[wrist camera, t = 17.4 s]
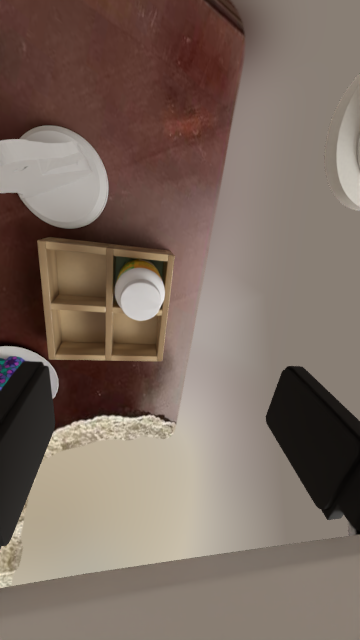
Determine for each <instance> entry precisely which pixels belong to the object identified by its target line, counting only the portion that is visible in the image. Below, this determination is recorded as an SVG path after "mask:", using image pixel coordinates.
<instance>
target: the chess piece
mask: <svg viewBox="0 0 360 640" xmlns="http://www.w3.org/2000/svg"><path fill="white" fill-rule="evenodd" d="M0 193H18V195H19V196H20V198H21V200H22V201H23V203H24V204H25V205H26V206H27V207H28V209H29V210H30V211H31V212H33V213H34V214H35V215H36V216H37V217H39V218H40V219H41V220H43V221H45V222H47V223H48V224H51V225H53V226H56V227H60V228H67V229H73V228H80V227H83V226H86V225H88V224H90V223H91V222H93V221H94V220H95V219H96V218H97V217H98V216H99V215H100V214H101V213H102V211H103V209H104V207H105V205H106V202H107V198H108V178H107V174H106V170H105V167H104V165H103V163H102V161H101V159H100V157H99V155H98V154H97V152H96V151H95V150H94V148H93V147H92V146H91V145H90V144H89V143H88V142H87V141H86V140H85V139H84V138H82V137H81V136H80V135H78V134H77V133H75V132H73V131H71V130H69V129H66V128H63V127H59V126H49V125H47V126H39V127H36V128H33V129H31V130H29V131H28V132H26V133H25V134H24V135H23V136H22V137H21V138H20V139H9V140H2V141H0Z"/></svg>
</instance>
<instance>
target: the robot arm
mask: <svg viewBox="0 0 360 640" xmlns="http://www.w3.org/2000/svg"><path fill="white" fill-rule="evenodd" d="M357 159H358V164H359V169H360V134H359V138H358V146H357ZM266 422H267V425H268V426H269V428H270V430H271V431H272V433H273V435H274V436H275V438H276V440H277V441H278V443H279V445H280V447H281V448H282V450H283V452H284V453H285V455H286V456H287V458H288V460H289V462H290V463H291V465H292V466H293V468H294V470H295V471H296V473H297V475H298V477H299V478H300V480H301V482H302V483H303V485H304V487H305V488H306V490H307V492H308V493H309V495H310V496H311V498H312V500H313V501H314V503H315V505H316V506H317V507H318V508H319V509H321V510H322V512H323V513H324V515H325V517H326V518H327V520H331V519H339V518H341V517H342V516H343V515H345V517H346V518H347V520H348V532H349V536H346V537H338V538H331V539H323V540H316V541H310V542H301V543H294V544H288V545H281V546H273V547H266V548H259V549H252V550H245V551H238V552H231V553H224V554H217V555H210V556H203V557H196V558H190V559H182V560H176V561H169V562H162V563H155V564H148V565H142V566H136V567H128V568H122V569H115V570H108V571H101V572H95V573H88V574H82V575H76V576H70V577H64V578H58V579H52V580H46V581H40V582H34V583H28V584H22V585H16V586H11V587H5V588H1V589H0V640H360V421H359V420H358V419H357V418H356V417H355V416H354V415H352V413H350V412H349V411H348V410H347V409H346V408H345V407H344V406H343V405H342V404H341V403H340V402H339V401H338V400H337V399H336V398H335V397H334V396H333V395H332V394H330V392H328V391H327V390H326V389H325V388H324V387H323V386H322V385H321V384H320V383H319V382H318V381H317V380H316V379H315V378H314V377H313V376H312V375H311V374H310V373H309V372H308V371H306V370H305V369H304V368H303V367H300V366H288V367H287V368H286V369H285V370H283V371H282V373H281V376H280V379H279V382H278V384H277V387H276V390H275V393H274V396H273V398H272V401H271V404H270V406H269V409H268V412H267V415H266ZM54 427H55V417H54V408H53V399H52V390H51V381H50V372H49V367H48V366H44V364H43V362H35V361H24V362H22V363H21V365H20V366H19V367H18V368H17V370H16V371H15V372H14V373H13V375H12V376H11V377H10V379H9V380H8V381H7V382H6V384H5V385H4V386H3V387H2V389H1V390H0V549H1V546H6V545H7V544H8V543H9V541H10V540H11V537H12V535H13V533H14V530H15V528H16V525H17V522H18V520H19V517H20V515H21V512H22V510H23V507H24V505H25V502H26V500H27V497H28V495H29V492H30V490H31V487H32V484H33V482H34V479H35V477H36V474H37V472H38V469H39V467H40V464H41V462H42V459H43V457H44V454H45V452H46V449H47V446H48V444H49V441H50V439H51V436H52V434H53V431H54Z"/></svg>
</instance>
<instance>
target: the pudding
mask: <svg viewBox="0 0 360 640" xmlns="http://www.w3.org/2000/svg"><path fill="white" fill-rule="evenodd" d="M24 361H35V362H43V364H44V366H48V367H49V372H50V381H51V390H52V399H53V398H54V397H55V395H56V393H57V391H58V377H57V374H56V372H55V370H54V368H53V367H52V366H51V364H50V363H49V362H48V361H47V360H46V359H44V358H43V357H41V356H40V355H38V354H37V353H34V352H32V351H30V350H27V349H24V348H20V347H14V346H0V390H1V389H2V387H3V386H4V385H5V384H6V382H7V381H8V380H9V379H10V377H11V376H12V375H13V373H14V372H15V371H16V370H17V368H18V367H19V366H20V365H21V363H22V362H24Z"/></svg>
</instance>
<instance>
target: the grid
mask: <svg viewBox="0 0 360 640" xmlns="http://www.w3.org/2000/svg"><path fill="white" fill-rule="evenodd" d="M37 244H38V254H39V264H40V274H41V285H42V295H43V305H44V315H45V325H46V336H47V346H48V356H49V359H54V360H55V359H57V360H113V361H162V358H163V350H164V342H165V333H166V325H167V316H168V308H169V300H170V291H171V283H172V275H173V266H174V258H175V255H174V254H173V253H172V252H171V251H168V250H160V249H151V248H142V247H133V246H125V245H116V244H107V243H98V242H90V241H81V240H72V239H64V238H55V237H48V238H44V239H41V240H37ZM135 258H139V259H146V260H149V261H150V262H152V263H153V264H154V265H155V266H156V268H157V269H158V271H159V274H160V277H161V279H162V282H163V284H164V288H165V297H164V301H163V303H162V305H161V307H160V309H159V311H158V313H157V314H156V315H155V316H154V317H152V318H151V319H148V320H144V321H138V320H134V319H131V318H130V317H128V316H127V315H126V314H125V313H124V312H123V310H122V309H121V307H120V306H119V305H118V303H117V301H116V298H115V286H116V282H117V278H118V275H119V272H120V269H121V268H122V266H123V265H124V264H125V263H126V262H127V261H129V260H131V259H135Z"/></svg>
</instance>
